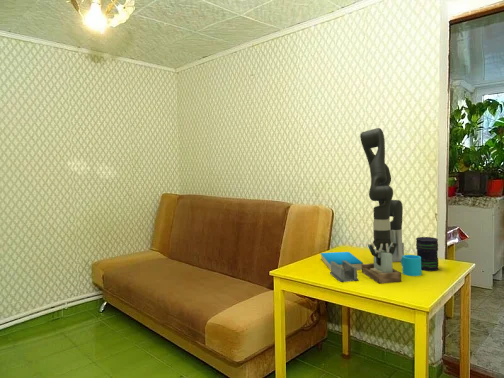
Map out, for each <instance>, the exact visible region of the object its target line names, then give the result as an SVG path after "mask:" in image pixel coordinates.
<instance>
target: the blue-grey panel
mask: <svg viewBox="0 0 504 378" xmlns="http://www.w3.org/2000/svg"><path fill="white" fill-rule="evenodd" d="M374 250H375V253H376V248H374ZM380 258H381V265H380V266H379V265H378V264H377V263H376V257H375V256H373V263H374V268H375V269H377V270H380V271H382V272H383V273H391V272H393V269H394V268H393V261H392V254H391V253H388V252H386V251H383V250H382V252H381V255H380ZM392 268H393V269H392Z"/></svg>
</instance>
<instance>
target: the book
mask: <svg viewBox="0 0 504 378" xmlns="http://www.w3.org/2000/svg"><path fill="white" fill-rule="evenodd" d="M320 255H321V260H322V262H323V263H324V264H325V265H326V266H327V268H328V269H330V271H331V261H334V262H335V263H337V264H338V265H340V266H341V267H342V261H344V260H345V261H347V262H348V263H350V264H352V265H353V266H355V267H356V268H357V271H359V270H360V271H362V265H361V264H364V263H363V262H362V261H361V260H360V259H359V258H357V257H356V256H355V255H354V254H352V253H351V252H350V251H341V252H340V251H337V252H336V251H335V252H334V251H333V252H321V253H320ZM342 268H343V267H342Z"/></svg>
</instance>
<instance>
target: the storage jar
mask: <svg viewBox="0 0 504 378" xmlns="http://www.w3.org/2000/svg"><path fill="white" fill-rule="evenodd" d="M438 240H439V239H438V238H437V237H430V236H419V237H416V238H415V241H416V243H415V247H416V248H415V249H416V255H417V256H420V257H421V271H425V272H435V271H439V257H438V252H439V242H438Z"/></svg>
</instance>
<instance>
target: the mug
mask: <svg viewBox="0 0 504 378" xmlns="http://www.w3.org/2000/svg"><path fill="white" fill-rule="evenodd" d="M400 263H401V264H400V265H401V267H402V274H403V275H405V276H408V277H409V276H410V277H420V276H422V270H421V257H420V256H417V254H416V255H415V254H404V255H403V256H402V259H401V261H400Z"/></svg>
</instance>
